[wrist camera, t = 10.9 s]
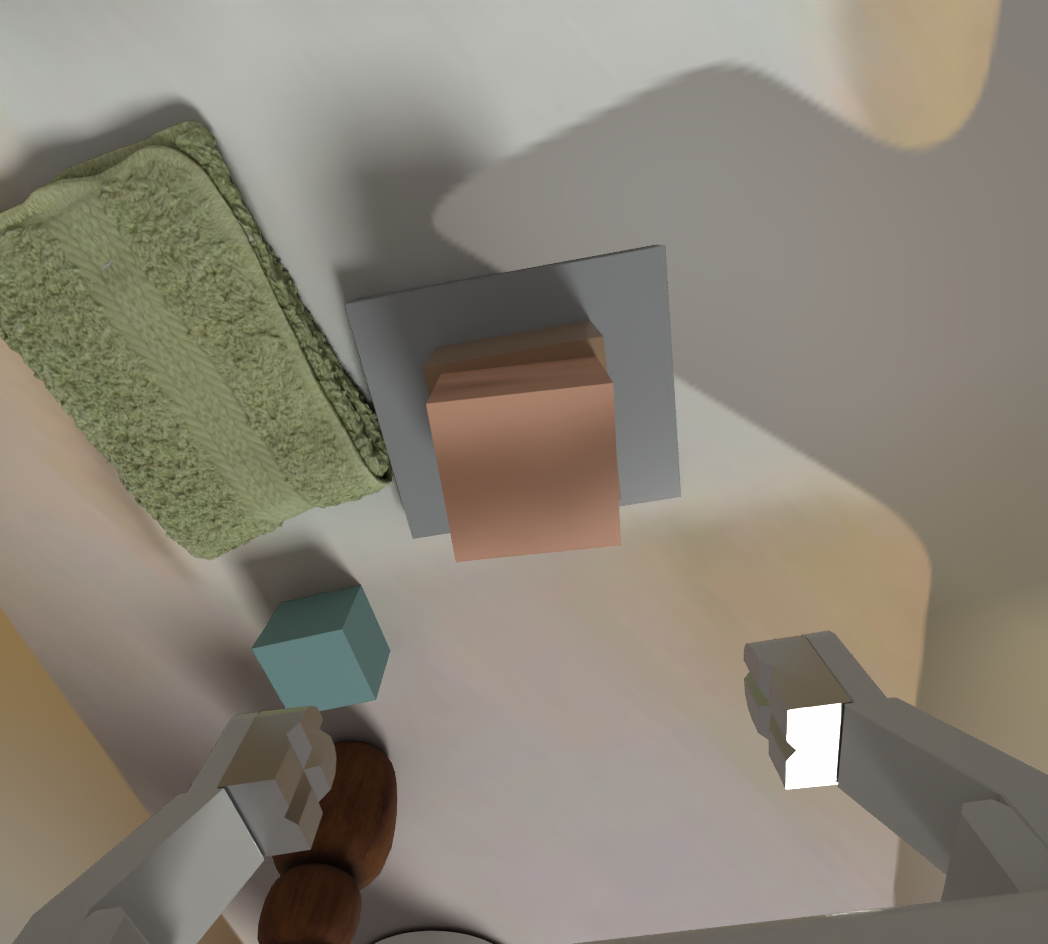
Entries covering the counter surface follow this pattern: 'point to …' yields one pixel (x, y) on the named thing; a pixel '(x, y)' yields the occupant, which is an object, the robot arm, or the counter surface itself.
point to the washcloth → (183, 344)
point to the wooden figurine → (335, 855)
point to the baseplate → (524, 306)
